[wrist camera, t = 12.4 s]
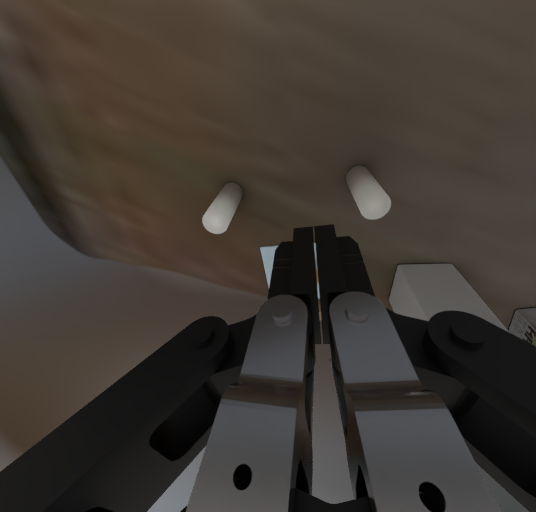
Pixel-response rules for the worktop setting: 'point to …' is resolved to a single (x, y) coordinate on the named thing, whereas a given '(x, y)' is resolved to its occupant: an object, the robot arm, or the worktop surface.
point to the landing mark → (269, 258)
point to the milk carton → (435, 293)
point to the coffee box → (524, 325)
